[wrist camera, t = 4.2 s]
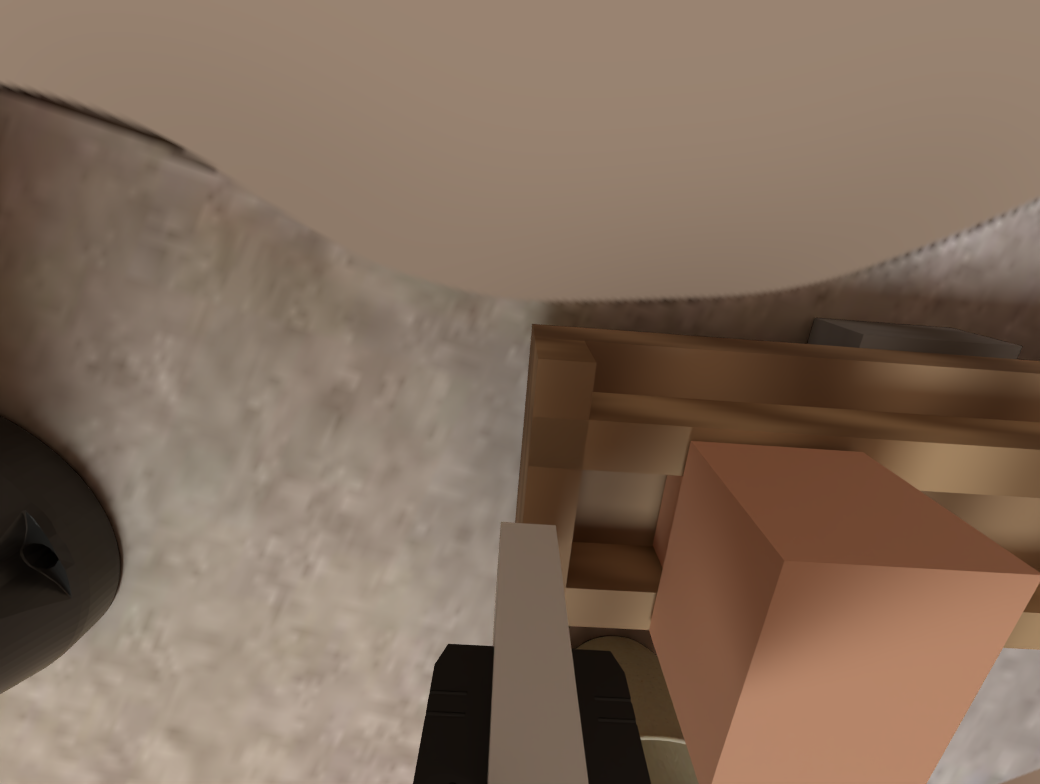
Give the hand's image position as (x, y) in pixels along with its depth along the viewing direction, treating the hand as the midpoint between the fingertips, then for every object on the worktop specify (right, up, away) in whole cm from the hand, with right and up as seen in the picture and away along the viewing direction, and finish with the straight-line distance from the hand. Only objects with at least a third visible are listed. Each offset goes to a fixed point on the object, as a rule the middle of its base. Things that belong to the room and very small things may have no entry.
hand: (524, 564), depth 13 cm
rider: (+7, +1, +4) cm, 8 cm away
